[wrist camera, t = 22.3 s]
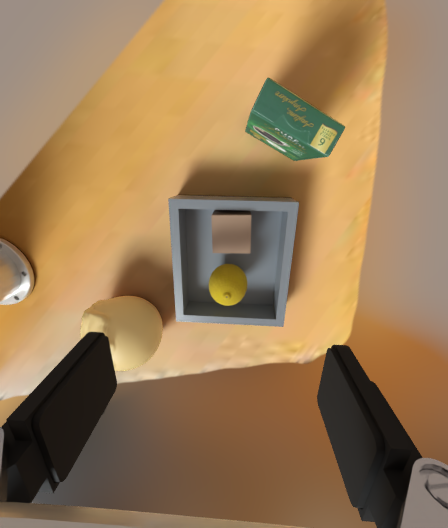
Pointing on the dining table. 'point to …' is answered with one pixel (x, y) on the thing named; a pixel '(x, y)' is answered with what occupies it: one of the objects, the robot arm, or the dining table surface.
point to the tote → (232, 259)
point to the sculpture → (125, 329)
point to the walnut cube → (231, 231)
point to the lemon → (228, 284)
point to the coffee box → (292, 124)
